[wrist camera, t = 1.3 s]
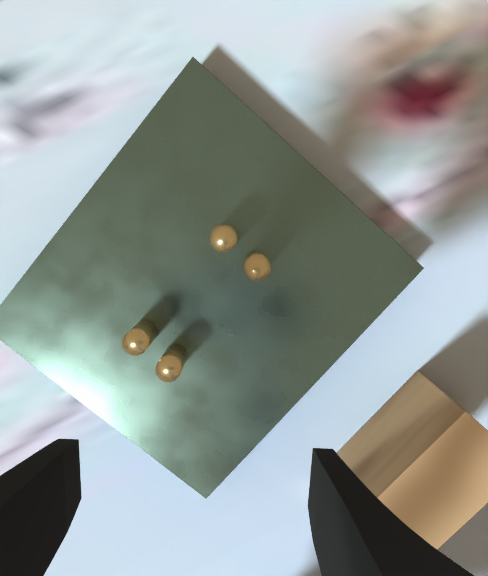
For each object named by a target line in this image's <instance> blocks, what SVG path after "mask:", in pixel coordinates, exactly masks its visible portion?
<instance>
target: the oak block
mask: <svg viewBox="0 0 488 576" xmlns="http://www.w3.org/2000/svg"><path fill="white" fill-rule="evenodd" d="M337 454H338V455H339V457H340V458H341V459H342V460H343V461H344V462H345V463H346V465H347V466H348V467H349V468H350V469H351V470H352V471H353V472H354V474H355V475H356V476H357V477H358V478H359V479H360V480H361V481H362V482H363V483H364V485H365V486H366V487H367V488H368V489H369V490H370V491H371V492H372V493H373V494H374V495H375V496H376V497H377V498H378V499H379V500H380V501H381V502H382V503H383V504H384V505H385V506H386V507H387V508H388V509H389V510H390V511H392V512H393V513H394V514H395V515H396V516H397V517H398V518H399V519H400V520H401V521H402V522H404V523H405V524H406V525H407V526H408V527H409V528H410V529H412V530H413V531H414V532H415V533H417V534H418V535H419V536H420V537H422V538H423V539H424V540H425V541H426V542H428V543H429V544H430V545H431V546H433V547H434V548H435V549H438V548H439V547H440V546H441V545H443V544H444V543H445V542H446V541H447V540H448V539H449V538H450V537H451V536H452V535H453V534H454V533H456V532H457V531H458V530H459V529H460V528H461V527H462V526H463V525H464V524H465V523H466V522H467V521H469V520H470V519H471V518H472V517H473V516H474V515H475V514H476V513H477V512H478V511H479V510H480V509H482V508H483V507H484V506H485V505H486V504H487V503H488V430H487V429H486V428H484V427H483V426H482V425H481V424H480V423H479V422H478V421H476V420H475V419H474V418H473V417H472V416H471V415H470V414H468V413H467V412H466V411H465V410H464V409H463V408H461V407H460V406H459V405H458V404H457V403H456V402H454V401H453V400H452V399H451V398H450V397H449V396H447V395H446V394H445V393H444V392H443V391H441V390H440V389H439V388H438V387H437V386H436V385H434V384H433V383H432V382H431V381H430V380H429V379H427V378H426V377H425V376H424V375H423V374H422V373H420V372H419V371H417V372H416V373H415V374H414V375H413V376H412V377H411V378H410V379H409V380H408V381H407V382H406V383H405V384H404V385H403V386H402V387H401V388H400V389H399V390H398V391H397V392H396V393H395V394H394V395H393V396H392V397H391V398H390V399H389V400H388V401H387V402H386V403H385V404H384V405H383V406H382V407H381V408H380V409H379V410H378V411H377V412H376V413H375V414H374V415H373V416H372V417H371V418H370V419H369V420H368V421H367V422H366V423H365V424H364V425H363V426H362V427H361V428H360V429H359V430H358V431H357V432H356V434H355V435H354V436H353V437H352V438H351V439H350V440H349V441H348V442H347V443H346V444H345V445H344V446H343V447H342V448H341V449H340V450H339V451H338V452H337Z"/></svg>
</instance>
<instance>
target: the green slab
mask: <svg viewBox="0 0 488 576" xmlns="http://www.w3.org/2000/svg"><path fill="white" fill-rule="evenodd" d="M423 269H424V268H423V267H422V266H421V265H420V264H419V263H418V262H417V261H416V260H414V259H413V258H412V257H411V256H410V255H409V254H408V253H407V252H406V251H405V250H404V249H402V248H401V247H400V246H399V245H398V244H397V243H396V242H395V241H394V240H393V239H392V238H390V237H389V236H388V235H387V234H386V233H385V232H384V231H383V230H382V229H381V228H380V227H378V226H377V225H376V224H375V223H374V222H373V221H372V220H371V219H370V218H369V217H367V216H366V215H365V214H364V213H363V212H362V211H361V210H360V209H359V208H358V207H357V206H355V205H354V204H353V203H352V202H351V201H350V200H349V199H348V198H347V197H346V196H345V195H343V194H342V193H341V192H340V191H339V190H338V189H337V188H336V187H335V186H334V185H333V184H331V183H330V182H329V181H328V180H327V179H326V178H325V177H324V176H323V175H322V174H321V173H319V172H318V171H317V170H316V169H315V168H314V167H313V166H312V165H311V164H310V163H308V162H307V161H306V160H305V159H304V158H303V157H302V156H301V155H300V154H299V153H298V152H296V151H295V150H294V149H293V148H292V147H291V146H290V145H289V144H288V143H287V142H286V141H284V140H283V139H282V138H281V137H280V136H279V135H278V134H277V133H276V132H275V131H274V130H272V129H271V128H270V127H269V126H268V125H267V124H266V123H265V122H264V121H263V120H262V119H260V118H259V117H258V116H257V115H256V114H255V113H254V112H253V111H252V110H251V109H250V108H248V107H247V106H246V105H245V104H244V103H243V102H242V101H241V100H240V99H239V98H237V97H236V96H235V95H234V94H233V93H232V92H231V91H230V90H229V89H228V88H227V87H225V86H224V85H223V84H222V83H221V82H220V81H219V80H218V79H217V78H216V77H215V76H213V75H212V74H211V73H210V72H209V71H208V70H207V69H206V68H205V67H204V66H203V65H201V64H200V63H199V62H198V61H197V60H196V59H195V58H194V57H192V59H191V60H190V61H189V62H188V64H187V65H186V66H185V68H184V69H183V70H182V72H181V73H180V74H179V75H178V77H177V78H176V79H175V81H174V82H173V83H172V84H171V86H170V87H169V88H168V90H167V91H166V92H165V93H164V95H163V96H162V97H161V99H160V100H159V101H158V102H157V104H156V105H155V106H154V108H153V109H152V110H151V112H150V113H149V114H148V115H147V117H146V118H145V119H144V121H143V122H142V123H141V124H140V126H139V127H138V128H137V130H136V131H135V132H134V133H133V135H132V136H131V137H130V139H129V140H128V141H127V142H126V144H125V145H124V146H123V148H122V149H121V150H120V152H119V153H118V154H117V155H116V157H115V158H114V159H113V161H112V162H111V163H110V164H109V166H108V167H107V168H106V170H105V171H104V172H103V173H102V175H101V176H100V177H99V179H98V180H97V181H96V182H95V184H94V185H93V186H92V188H91V189H90V190H89V192H88V193H87V194H86V195H85V197H84V198H83V199H82V201H81V202H80V203H79V204H78V206H77V207H76V208H75V210H74V211H73V212H72V213H71V215H70V216H69V217H68V219H67V220H66V221H65V222H64V224H63V225H62V226H61V228H60V229H59V230H58V232H57V233H56V234H55V235H54V237H53V238H52V239H51V241H50V242H49V243H48V244H47V246H46V247H45V248H44V250H43V251H42V252H41V253H40V255H39V256H38V257H37V259H36V260H35V261H34V262H33V264H32V265H31V266H30V268H29V269H28V270H27V272H26V273H25V274H24V275H23V277H22V278H21V279H20V281H19V282H18V283H17V284H16V286H15V287H14V288H13V290H12V291H11V292H10V293H9V295H8V296H7V297H6V299H5V300H4V301H3V302H2V304H1V305H0V340H1V341H2V342H3V343H5V344H6V345H7V346H9V347H10V348H11V349H13V350H14V351H15V352H16V353H18V354H19V355H20V356H22V357H23V358H24V359H26V360H27V361H28V362H29V363H31V364H32V365H33V366H35V367H36V368H37V369H38V370H40V371H41V372H42V373H44V374H45V375H46V376H48V377H49V378H50V379H51V380H53V381H54V382H55V383H57V384H58V385H59V386H61V387H62V388H63V389H64V390H66V391H67V392H68V393H70V394H71V395H72V396H74V397H75V398H76V399H77V400H79V401H80V402H81V403H83V404H84V405H85V406H87V407H88V408H89V409H90V410H92V411H93V412H94V413H96V414H97V415H98V416H99V417H101V418H102V419H103V420H105V421H106V422H107V423H109V424H110V425H111V426H112V427H114V428H115V429H116V430H118V431H119V432H120V433H122V434H123V435H124V436H125V437H127V438H128V439H129V440H131V441H132V442H133V443H135V444H136V445H137V446H138V447H140V448H141V449H142V450H144V451H145V452H146V453H148V454H149V455H150V456H151V457H153V458H154V459H155V460H157V461H158V462H159V463H161V464H162V465H163V466H164V467H166V468H167V469H168V470H170V471H171V472H172V473H173V474H175V475H176V476H177V477H179V478H180V479H181V480H183V481H184V482H185V483H186V484H188V485H189V486H190V487H192V488H193V489H194V490H196V491H197V492H198V493H199V494H201V495H202V496H203V497H205V498H207V497H208V496H209V495H210V494H211V493H212V492H213V491H214V490H215V489H216V488H217V487H218V486H219V485H220V483H221V482H222V481H223V480H224V479H225V478H226V477H227V476H228V475H229V474H230V473H231V472H232V471H233V470H234V469H235V468H236V467H237V465H238V464H239V463H240V462H241V461H242V460H243V459H244V458H245V457H246V456H247V455H248V454H249V453H250V452H251V451H252V450H253V449H254V447H255V446H256V445H257V444H258V443H259V442H260V441H261V440H262V439H263V438H264V437H265V436H266V435H267V434H268V433H269V432H270V431H271V429H272V428H273V427H274V426H275V425H276V424H277V423H278V422H279V421H280V420H281V419H282V418H283V417H284V416H285V415H286V414H287V413H288V411H289V410H290V409H291V408H292V407H293V406H294V405H295V404H296V403H297V402H298V401H299V400H300V399H301V398H302V397H303V396H304V395H305V393H306V392H307V391H308V390H309V389H310V388H311V387H312V386H313V385H314V384H315V383H316V382H317V381H318V380H319V379H320V378H321V377H322V375H323V374H324V373H325V372H326V371H327V370H328V369H329V368H330V367H331V366H332V365H333V364H334V363H335V362H336V361H337V360H338V359H339V357H340V356H341V355H342V354H343V353H344V352H345V351H346V350H347V349H348V348H349V347H350V346H351V345H352V344H353V343H354V342H355V341H356V339H357V338H358V337H359V336H360V335H361V334H362V333H363V332H364V331H365V330H366V329H367V328H368V327H369V326H370V325H371V324H372V323H373V321H374V320H375V319H376V318H377V317H378V316H379V315H380V314H381V313H382V312H383V311H384V310H385V309H386V308H387V307H388V306H389V305H390V303H391V302H392V301H393V300H394V299H395V298H396V297H397V296H398V295H399V294H400V293H401V292H402V291H403V290H404V289H405V288H406V287H407V285H408V284H409V283H410V282H411V281H412V280H413V279H414V278H415V277H416V276H417V275H418V274H419V273H420V272H421V271H422V270H423Z"/></svg>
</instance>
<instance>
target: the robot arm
mask: <svg viewBox="0 0 488 576" xmlns="http://www.w3.org/2000/svg"><path fill="white" fill-rule="evenodd" d="M80 500H81V481H80V460H79V440H77V439H57V440H56V441H54V442H52V443H50V444H49V445H47V446H46V447H44V448H43V449H41V450H39V451H38V452H36V453H35V454H33V455H32V456H30V457H29V458H27V459H26V460H24V461H23V462H21V463H19V464H18V465H16V466H15V467H13V468H12V469H10V470H9V471H7V472H5V473H4V474H2V475H1V476H0V576H43V575H44V574H45V572H46V570H47V568H48V567H49V565H50V563H51V561H52V559H53V558H54V556H55V554H56V552H57V550H58V548H59V547H60V545H61V543H62V541H63V539H64V537H65V536H66V534H67V532H68V529H69V527H70V525H71V522H72V520H73V518H74V515H75V513H76V510H77V508H78V505H79V503H80ZM308 510H309V518H310V525H311V532H312V538H313V543H314V547H315V551H316V555H317V559H318V563H319V567H320V570H321V574H322V576H474V575H472V574H471V573H469V572H468V571H466V570H465V569H463V568H462V567H461V566H459V565H458V564H456V563H455V562H453V561H452V560H451V559H449V558H448V557H446V556H445V555H443V554H442V553H441V552H439V551H438V550H437V549H435V548H434V547H433V546H431V545H430V544H429V543H428V542H426V541H425V540H424V539H423V538H422V537H420V536H419V535H418V534H417V533H415V532H414V531H413V530H412V529H410V528H409V527H408V526H407V525H406V524H405V523H404V522H402V521H401V520H400V519H399V518H398V517H397V516H396V515H395V514H394V513H393V512H392V511H390V510H389V509H388V508H387V507H386V506H385V505H384V504H383V503H382V502H381V501H380V500H379V499H378V498H377V497H376V496H375V495H374V494H373V493H372V492H371V491H370V490H369V489H368V488H367V487H366V486H365V485H364V483H363V482H362V481H361V480H360V479H359V478H358V477H357V476H356V475H355V474H354V472H353V471H352V470H351V469H350V468H349V467H348V466H347V465H346V463H345V462H344V461H343V460H342V459H341V458H340V457H339V455H338V454H337V453H336V452H335V451H334V450H333V449H321V448H313V453H312V465H311V476H310V487H309V499H308Z"/></svg>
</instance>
